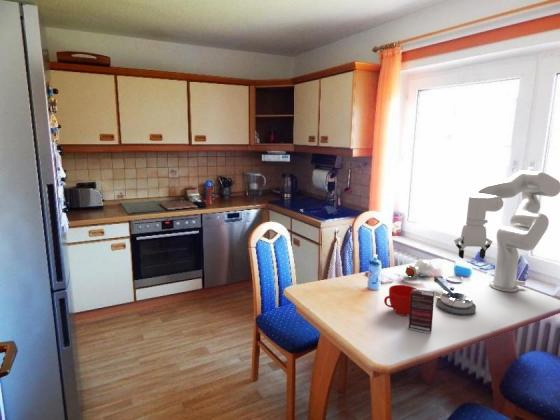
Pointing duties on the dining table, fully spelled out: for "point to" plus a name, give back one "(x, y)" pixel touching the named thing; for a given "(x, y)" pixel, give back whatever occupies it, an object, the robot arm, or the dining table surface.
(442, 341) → the dining table surface
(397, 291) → the ceramic cup
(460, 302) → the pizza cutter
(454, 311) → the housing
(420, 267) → the potion bottle
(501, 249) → the robot arm
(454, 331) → the dining table surface
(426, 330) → the supplement box
